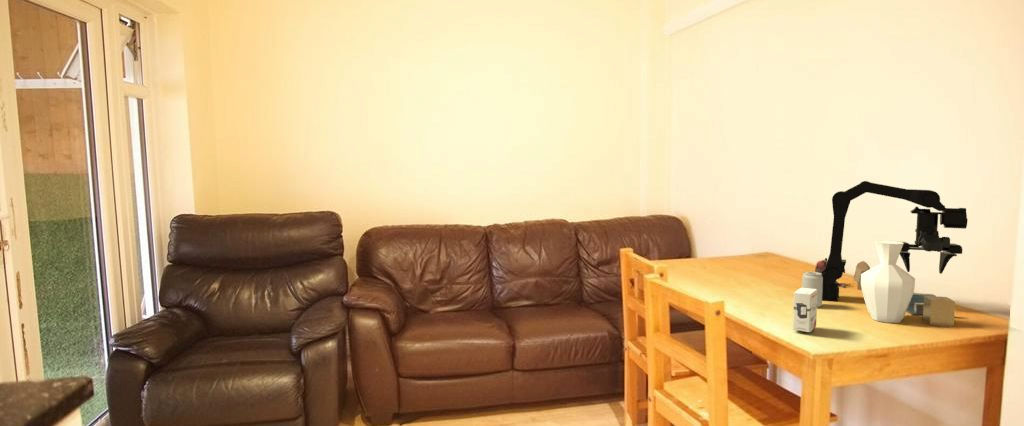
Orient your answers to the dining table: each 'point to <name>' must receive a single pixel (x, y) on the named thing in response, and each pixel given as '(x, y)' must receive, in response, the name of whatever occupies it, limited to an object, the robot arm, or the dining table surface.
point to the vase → (887, 285)
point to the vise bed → (912, 310)
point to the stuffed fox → (821, 267)
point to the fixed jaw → (918, 308)
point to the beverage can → (814, 284)
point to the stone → (860, 272)
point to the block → (938, 311)
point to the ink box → (805, 309)
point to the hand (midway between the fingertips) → (924, 272)
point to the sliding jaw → (918, 298)
